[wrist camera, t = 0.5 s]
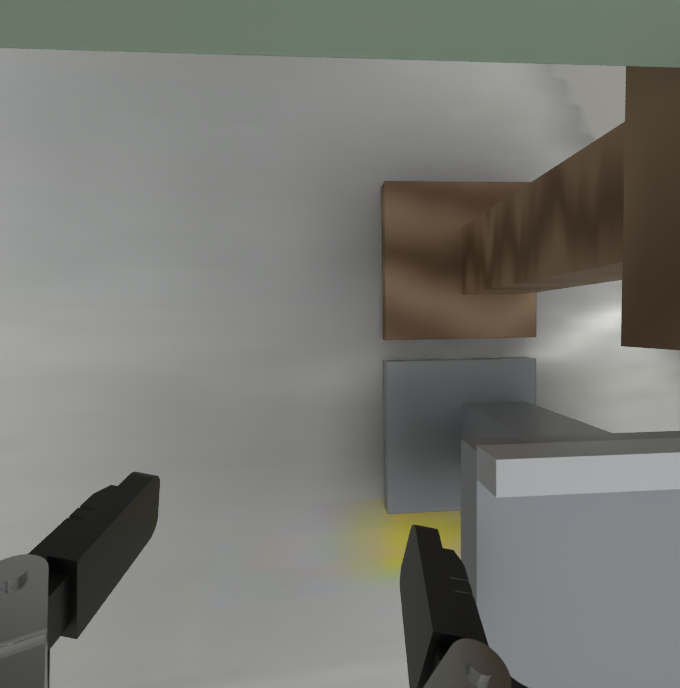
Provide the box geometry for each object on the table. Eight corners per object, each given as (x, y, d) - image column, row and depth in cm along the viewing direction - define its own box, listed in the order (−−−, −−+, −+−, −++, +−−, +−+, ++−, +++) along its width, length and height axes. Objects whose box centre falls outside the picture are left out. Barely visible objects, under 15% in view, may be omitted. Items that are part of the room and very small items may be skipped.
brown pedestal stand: (370, 187, 37) (726, -646, 5) (538, 188, 38) (1674, -495, 6) (372, 339, 38) (697, 419, 6) (537, 336, 39) (1556, 389, 7)
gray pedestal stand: (372, 360, 38) (496, 434, 13) (537, 357, 39) (957, 417, 14) (374, 507, 39) (495, 858, 13) (536, 499, 40) (934, 809, 14)
